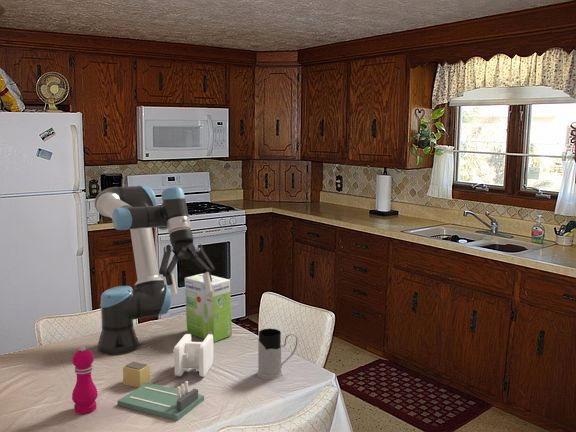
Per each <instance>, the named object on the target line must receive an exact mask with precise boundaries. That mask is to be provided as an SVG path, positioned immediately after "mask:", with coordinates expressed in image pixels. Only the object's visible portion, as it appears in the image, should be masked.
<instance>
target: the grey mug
mask: <svg viewBox="0 0 576 432" xmlns="http://www.w3.org/2000/svg"><path fill="white" fill-rule="evenodd" d="M281 335H282V333H281V330H279V329H276V328H263V329H261V330H259V331H258V338H257V339H258V345H257V346H258V348H257V351H258V353H257V355H258V361H257V363H258V365H257V366H258V370H257V373H256V375H257V377H259V378H261V379H264V380H275V379H276V380H277V379H278V378H281V377H282V376H283V372H282V368H283V365H284V364H285V363H286V362H287V361H288V360H290V358H292V356H293V355H294V354H295V352H296V350H297V347H298V336H296V335H295V333H289V334H287V335H285V338H284V344H283V345H281V343H282V342H281V341H282V340H281V338H282V337H281ZM289 336H294V337H295V339H296V340H295V345H294V349H293V351H292V352H291V353H290V355H289V356H288V357H287V358H286V359H284V360H283V361H282V348H284V347H285V346H286V345H287V339H288V337H289Z"/></svg>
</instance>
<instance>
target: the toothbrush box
mask: <svg viewBox="0 0 576 432" xmlns="http://www.w3.org/2000/svg"><path fill="white" fill-rule="evenodd" d="M202 274H203V273H199V274H195V275H191V276H186V277H184V287H185V288H184V290H185V291H184V293H185V294H184V295H185V311H186V312H185V314H186V315H185V316H186V334H191V336H196V337H197V338H201V339H204V340H205V338H206V337H207V335H208V334H212V335H213V343H216V342H218V341H220V340H223V339H226V338H229V337H231V336H233V332H232V331H233V328H232V300H231V297H232V294H231V293H232V292H231V279H228V278H224V277H219V276H216V275H212V274H211V278H212V282H211V285H212V290H213V291H211V292H209V293H206V290H205V285H204V280H203V275H202Z"/></svg>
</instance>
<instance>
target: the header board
mask: <svg viewBox="0 0 576 432" xmlns="http://www.w3.org/2000/svg"><path fill="white" fill-rule="evenodd" d="M203 401H205V395H203V394H199V389H197V388H192V389H191V390H190V391H189V381H188V380H186V381H184V383H181V384H180V386H176V388H173V387H169V386H163V385H160V384H155V383H151V382H149V383H145V384H144V385H142V386H140V387H139V388H138V387H136V388H135V389H134V390H132V391H131V392H130V393H128V394H126V395H124V396H123V397H121V398H120V399H118V400H117V407H118V406H119V407H122V408H128V409H131V410H134V411H138V412H142V413H146V414H150V415H154V416H157V417H161V418H165V419H170V420H174V421H177V422H178V421H179V420H180V419H182V418H183V417H184V416H186V415H187V414H188V413H189V412H191V411H193V409H195V408H196V407H197V406H199V405H200V404H201V403H202V402H203Z"/></svg>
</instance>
